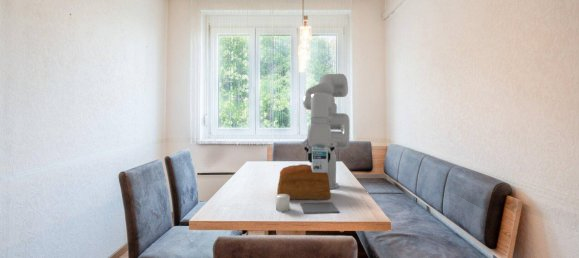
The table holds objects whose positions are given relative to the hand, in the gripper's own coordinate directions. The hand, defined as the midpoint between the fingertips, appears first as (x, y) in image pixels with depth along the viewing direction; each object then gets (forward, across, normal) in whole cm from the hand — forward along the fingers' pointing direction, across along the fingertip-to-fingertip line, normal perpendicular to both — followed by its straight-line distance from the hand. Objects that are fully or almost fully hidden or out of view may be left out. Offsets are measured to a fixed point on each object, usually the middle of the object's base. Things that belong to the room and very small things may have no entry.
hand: (319, 161), depth 119 cm
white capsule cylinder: (+21, +16, 0) cm, 26 cm away
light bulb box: (+4, 0, 0) cm, 4 cm away
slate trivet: (+21, 0, 0) cm, 21 cm away
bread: (+21, +4, -19) cm, 29 cm away
